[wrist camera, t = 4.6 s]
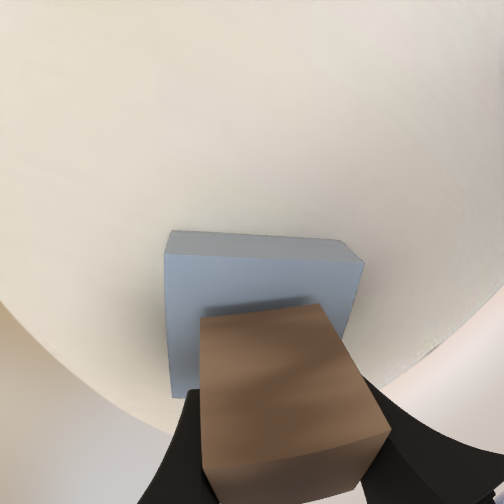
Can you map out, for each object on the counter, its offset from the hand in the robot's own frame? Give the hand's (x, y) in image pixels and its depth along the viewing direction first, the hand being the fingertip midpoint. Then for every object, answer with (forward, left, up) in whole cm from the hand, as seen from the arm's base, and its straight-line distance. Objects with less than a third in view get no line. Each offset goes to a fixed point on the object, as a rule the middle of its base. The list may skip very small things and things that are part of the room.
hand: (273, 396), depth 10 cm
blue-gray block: (0, 0, -6) cm, 6 cm away
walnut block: (0, 0, -2) cm, 2 cm away
